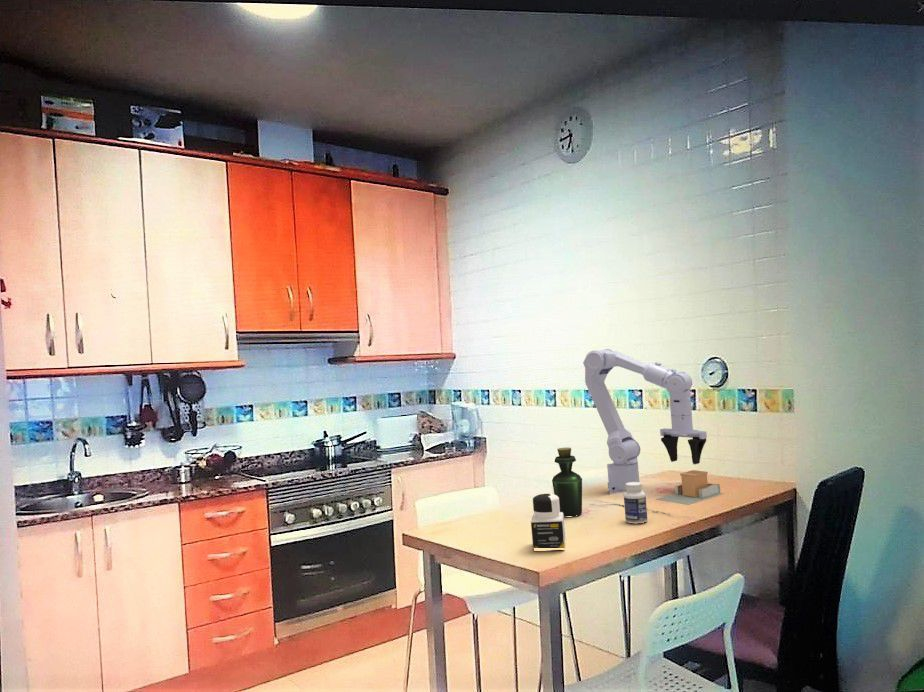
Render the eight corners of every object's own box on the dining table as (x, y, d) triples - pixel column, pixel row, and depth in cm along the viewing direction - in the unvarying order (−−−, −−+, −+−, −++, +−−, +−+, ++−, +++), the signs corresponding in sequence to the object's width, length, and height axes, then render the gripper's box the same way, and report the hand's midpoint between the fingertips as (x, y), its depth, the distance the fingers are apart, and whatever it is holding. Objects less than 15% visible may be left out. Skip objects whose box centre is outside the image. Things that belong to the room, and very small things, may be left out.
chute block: (696, 497, 185) (694, 475, 185) (681, 494, 189) (679, 473, 189) (709, 493, 188) (707, 471, 188) (695, 490, 192) (693, 470, 192)
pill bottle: (642, 525, 167) (639, 486, 167) (622, 523, 170) (619, 485, 170) (651, 520, 171) (647, 481, 171) (631, 518, 174) (627, 480, 174)
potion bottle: (555, 511, 188) (550, 447, 188) (585, 510, 187) (579, 445, 187) (554, 518, 180) (548, 451, 180) (585, 517, 179) (579, 450, 179)
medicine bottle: (533, 552, 153) (528, 499, 153) (535, 543, 160) (531, 492, 160) (564, 551, 151) (560, 498, 151) (565, 542, 158) (561, 491, 158)
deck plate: (688, 509, 178) (688, 504, 178) (655, 503, 187) (655, 499, 187) (724, 497, 187) (724, 493, 187) (691, 492, 196) (691, 488, 196)
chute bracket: (702, 498, 183) (701, 489, 183) (675, 494, 191) (674, 485, 191) (720, 493, 188) (719, 484, 188) (693, 489, 195) (692, 480, 195)
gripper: (651, 415, 196) (655, 462, 196) (693, 417, 184) (697, 467, 184) (667, 412, 200) (671, 458, 200) (709, 414, 188) (713, 463, 188)
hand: (685, 462), depth 192 cm, fingers open, 7 cm apart
